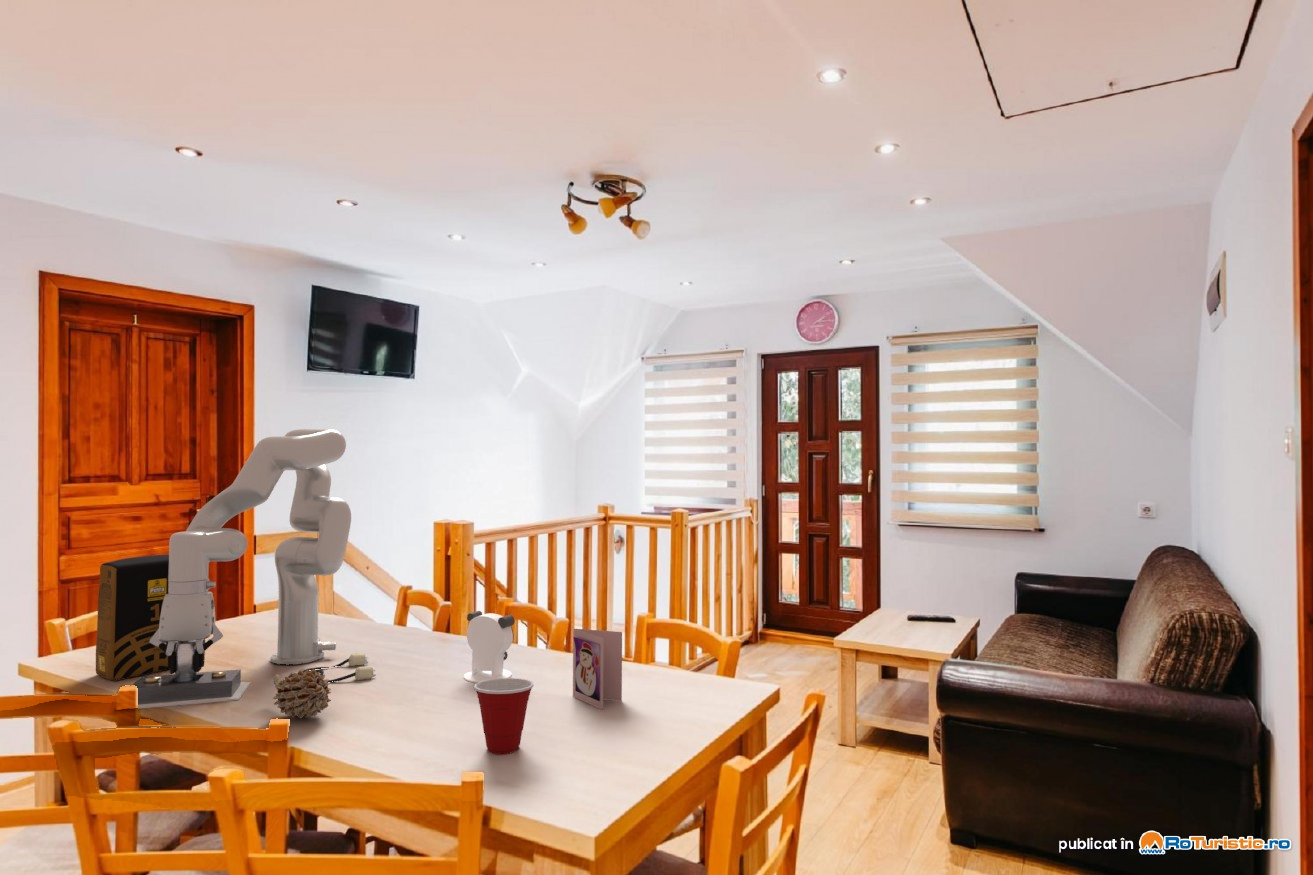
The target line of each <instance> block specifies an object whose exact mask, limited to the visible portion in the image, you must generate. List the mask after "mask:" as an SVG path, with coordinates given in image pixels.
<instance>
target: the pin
mask: <svg viewBox="0 0 1313 875" xmlns="http://www.w3.org/2000/svg"><path fill="white" fill-rule="evenodd" d="M196 653H197V646H196V641H195V640H188V641H180V642H177V643H176V663H175V673H174V674H175V681H178V682H184V681H190V680H194V679H196V677H197V673H198V672H194V664H195V654H196Z"/></svg>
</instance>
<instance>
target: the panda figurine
mask: <svg viewBox="0 0 1313 875" xmlns="http://www.w3.org/2000/svg"><path fill="white" fill-rule="evenodd" d="M466 619H467V621H469V623H468V626H467V631H466V640H467V641H466V642H467V643H468V646H469V647H470V649H471V650H472V652H471V655H472V656H471V657H472V658H471V659H472V660H471V670H470V671H467V672H466V673H464V675H463V679H464V680H465V681H466V682H469V683H472V684H473V683H475V684H476V683H478V682H481V681H485V680H491V679H500V678H512V675H513V673H512V671H510V670H508V669H505V668H504V661H506V660H507V659H508V656H509V655H508V650H509V649H510V647H511V646H512V644H513V642H514V639H515V638H514V636H515V635H514V630H513V627H512V626H514V624H515V618H514V616H513V615H512V614H508V615H505V616H504V615H501V614H497V613H492V612H491V613H490V612H489V613H484V614H483V612H482V611H481V610H477V611H474V612H469V613H468V614H467V615H466Z"/></svg>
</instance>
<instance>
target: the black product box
mask: <svg viewBox="0 0 1313 875" xmlns="http://www.w3.org/2000/svg"><path fill="white" fill-rule="evenodd" d="M168 575H169V553H167V554H153V555H152V554H151V555H144V556H143V555H141V556H135V557H127V558H121V559H116V560H113V561H108V562H103V563H102V564H101V565H100V567H99V585H98V586H99V587H98V595H97V625H96V626H97V627H96V640H95V641H96V642H95V673H96V675H97V676H99V677H100V678H101V677H102V678H104V679H107V680H110V681H113V682H115V681H121V680H125V679H126V680H127V679H131V678H136V677H142V676H145V675H151V674H155V672H156V673H160V672H163V671H168V670H169V671H170V669H168V656H167V655H166V653H165V652H164V651H163V650H161V649H160V648H159V647H158V646H155V645H153V644H151V643H150V639H151V638H152V637H153V635H154V634H155V633H156V631H157V630H158V629H159V623H160V615H161V609H162V604H163V600H164V596H165V595H166V594H168ZM165 642H167V641H165ZM178 642H180V641H178ZM167 643H168V642H167Z"/></svg>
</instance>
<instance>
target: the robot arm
mask: <svg viewBox="0 0 1313 875" xmlns="http://www.w3.org/2000/svg"><path fill="white" fill-rule="evenodd" d="M346 446H347V441H346V439H345V436H344V435H343V434H342V433H341V432H339V431H338V430H335V429H332V428H331V429H329V428H328V429H327V428H326V429H325V428H324V429H323V428H322V429H318V428H317V429H316V428H303V429H293V430H291V431H288V432H287V433H286V434H285V435H284V436H282V435H281V436H267V437H264V438H262V439H261V440H259V441H258V442H257V443H256V445H255V446H254V448H253V450H252V451H251V453H250V455H249V457H248V458H247V460H246V461H245V463H244V464H243V465H242V468H241V470H240V471H239V473H238V474H237V476H236V478H235V479H234V480H233V483H232V484H231V485H229V486H228V487H226V488H225V489H223V491H221V492H220V493H218V494H217V495H216V496H214V497H213V498H212V499H210V500H209V501H207V503H205V504H204V505H203V506H202V507H201V508H200V509H199V511H197V513H196V514H195V516H194V517H193V519H192V521H191V522H190V524H189V525H188V526H187V529H186V530H185V531H179V532H174V533H173V534H171V535H170V537H169V546H168V548H169V549H168V554H169V575H168V594H166V595H165V596H164V600H163V604H162V609H161V615H160V623H159V629H158V630H157V631H156V633H155V634H154V635H153V637H152V638H151V639H150V643H151V644H153V645H155V646H158V647H159V648H160V649H161V650H163V651H164V652H165V653H166V655H167V656H168V669H169V675H172V674H175V663H176V643H177V642H178V641H188V640H195V641H196V646H197V653H196V654H195V664H194V672H197V673H199V672H200V671H202V668H204V667H205V660H206V659H205V655H206V653H205V652H206V651H207V650H208V649H209V648H210V647H211V646H212V645H214V644H215V643H217V642H219V641H220V640H221V639H222V638H224V635H223V634H224V633H222V632H221V630H220V628H218V626H217V625H216V611H215V610H216V609H215V601H214V600H215V599H214V596H213V595H214V594H213V592H212V591H209V590H210V589H213V588H216V581H212V580H210V578H209V571H210V570H209V568H210V562H232V561H234V560H237V559H239V558H241V557H242V556H243V555H244V554H245V553H246V551H247V548H248V544H249V542H248V538H247V536H246V535H245V534H244V533H243V532H242V531H240V530H238V529H235V528H227V527H223V526H224V525H225V524H226V523H227V522H228V521H229V520H231V519H232V518H234V517H235V516H237V515H239V514H241V513H243V512H245V511H248V510H251V509H253V508H256V507H257V506H260V505H262V504H264V503H266V501H267V500H268V499H269V497H270V496H271V494H272V492H273V491H274V488H275V487H276V485H277V483H278V482H279V480H280V478H281V476H282V475H283V473H284V472H286V471H295V474H296V482H295V488H294V493H293V497H292V504H291V507H290V513H289V524H290V526H291V528H292V529H293V530H295V531H298V532H301V533H315V534H318V537H312V536H311V537H310V536H307V537H306V536H294V537H288V538H286V539H284V540H282V541H281V542H280V543H279V544H278V545H277V547H276V550H275V551H274V564H275V569H276V570H275V571H276V573H277V580H278V581H277V582H278V583H277V584H278V601H277V603H278V604H277V605H278V607H277V610H278V611H277V613H278V614H277V652H275V653H273V654H272V655H271V656H270V662H271V663H272V664H274V663H277V664H276V665H280V664H286V665H285V666H290V665H289V664H293V665H301V664H300V663H303V664H307V663H311V662H312V661H313V662H315V660H316V661H318V660H317V659H319V660H321V659H322V658H324V656H325V651H336V650H337V649H336V648H337V642H333V641H325V642H323V640H322V641H321V637H320V636H319V594H320V590H319V584H318V581H317V579H316V577H315V576H321V577H323V576H325V577H326V576H331V575H334V574H336V573H337V572H338V571H339V570H340V569H341V567H342V565H343V562H344V560H345V555H346V550H347V547H348V546H347V544H348V539H349V535H350V531H351V530H350V529H351V523H352V512H351V508H350V505H349V504H348V502H347V501H345V500H344V499H342V498H340V497H336V496H335V497H334V496H330V493H331V486H332V477H331V472H330V469H329V468H328V466H327V464H330V463H333V462H336V461H338V460H340V459H341V458H342V456H343V455H344V453H345V452H346V449H347V448H346ZM211 635H212V637H211ZM210 637H211V638H210ZM206 639H208V640H207V641H206ZM165 641H167V642H168V643H167V642H165ZM313 662H312V663H313Z"/></svg>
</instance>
